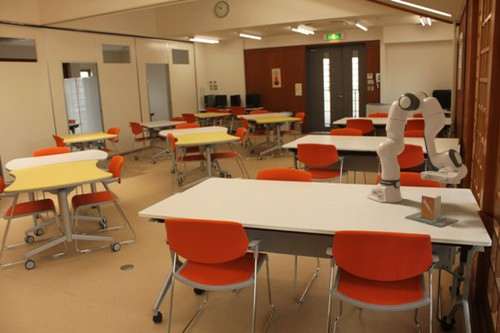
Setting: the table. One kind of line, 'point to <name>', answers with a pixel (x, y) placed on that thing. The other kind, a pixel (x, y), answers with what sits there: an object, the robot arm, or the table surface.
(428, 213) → the small box
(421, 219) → the plate
